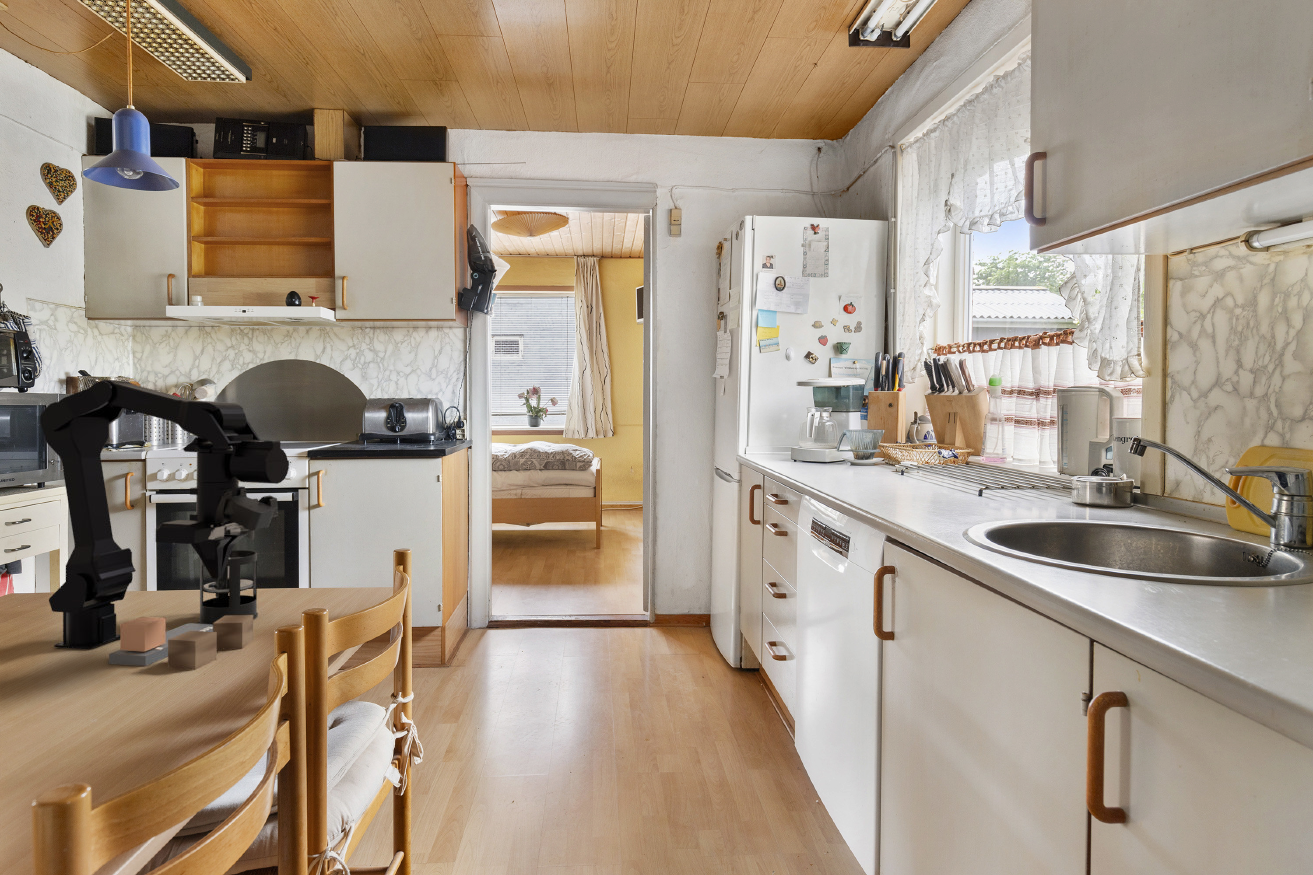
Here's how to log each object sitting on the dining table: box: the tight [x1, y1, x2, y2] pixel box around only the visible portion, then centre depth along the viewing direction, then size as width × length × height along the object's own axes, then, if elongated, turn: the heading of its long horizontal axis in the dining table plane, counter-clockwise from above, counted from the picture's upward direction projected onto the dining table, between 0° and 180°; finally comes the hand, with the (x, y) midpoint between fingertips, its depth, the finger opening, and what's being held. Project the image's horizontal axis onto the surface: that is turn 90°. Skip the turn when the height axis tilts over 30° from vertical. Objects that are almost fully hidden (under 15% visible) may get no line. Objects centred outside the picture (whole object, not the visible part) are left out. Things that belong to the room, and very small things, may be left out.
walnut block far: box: [213, 615, 254, 651], centre depth 117 cm, size 4×4×4 cm
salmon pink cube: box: [119, 616, 167, 652], centre depth 110 cm, size 4×4×4 cm
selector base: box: [108, 622, 213, 667], centre depth 115 cm, size 6×16×2 cm, turn 175°
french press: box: [198, 525, 259, 625], centre depth 131 cm, size 12×9×23 cm
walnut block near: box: [167, 631, 218, 671], centre depth 108 cm, size 4×4×4 cm
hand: (216, 578), depth 113 cm, fingers closed
